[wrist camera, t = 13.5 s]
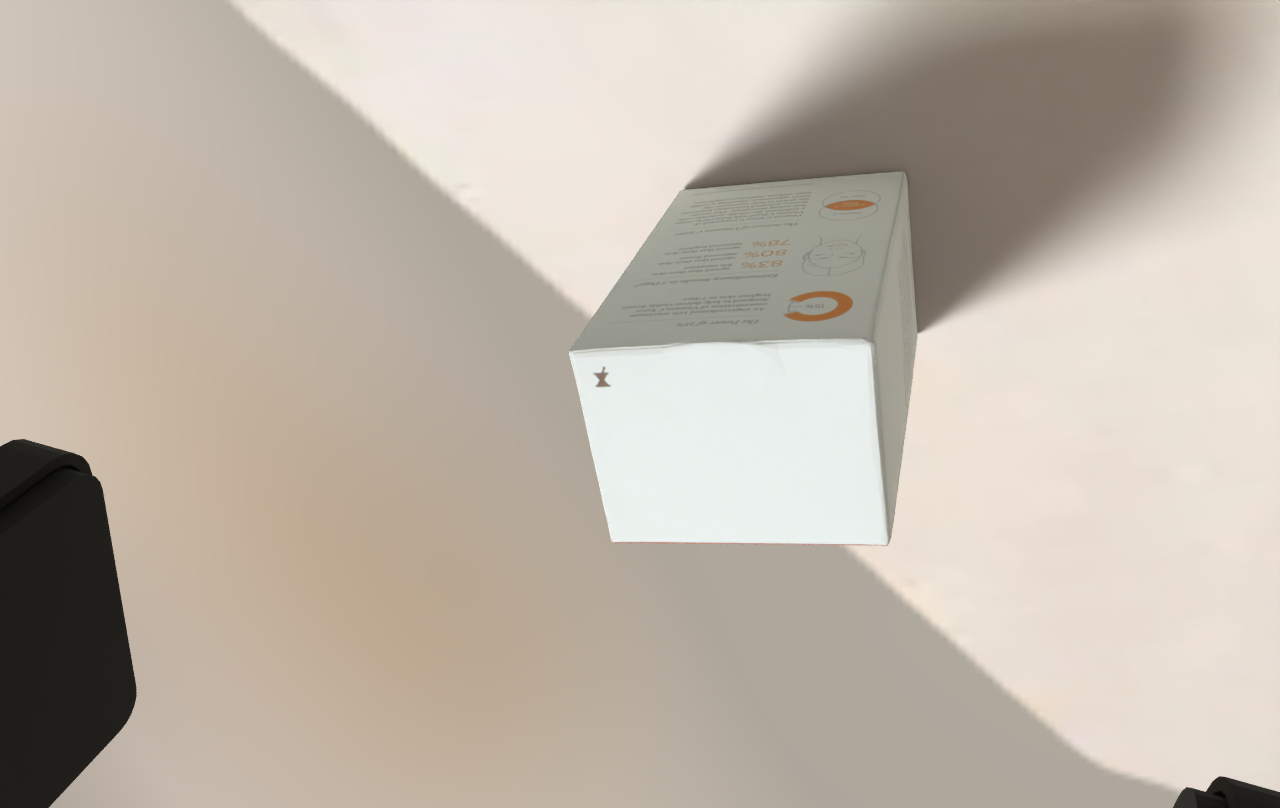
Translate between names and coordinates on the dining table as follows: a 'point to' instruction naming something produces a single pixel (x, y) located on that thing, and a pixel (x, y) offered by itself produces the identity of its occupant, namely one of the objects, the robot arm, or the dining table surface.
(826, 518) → the small box
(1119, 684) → the dining table surface
